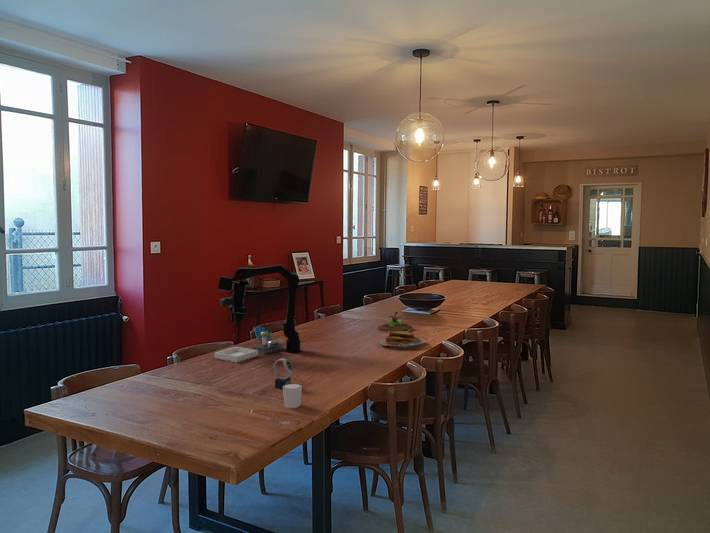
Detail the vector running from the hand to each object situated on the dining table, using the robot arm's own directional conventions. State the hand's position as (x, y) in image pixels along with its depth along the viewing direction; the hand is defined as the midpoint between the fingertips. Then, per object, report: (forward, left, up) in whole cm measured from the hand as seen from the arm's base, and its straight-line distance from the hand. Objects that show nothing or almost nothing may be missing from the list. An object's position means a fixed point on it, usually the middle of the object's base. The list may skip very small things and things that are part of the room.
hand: (234, 323), depth 268 cm
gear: (+7, -30, -15) cm, 35 cm away
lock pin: (-11, -10, -15) cm, 21 cm away
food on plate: (-63, -60, -15) cm, 88 cm away
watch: (-55, +30, -15) cm, 64 cm away
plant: (-41, -95, -16) cm, 105 cm away
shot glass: (-72, +46, -15) cm, 86 cm away
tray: (-7, +6, -15) cm, 17 cm away
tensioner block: (-11, -13, -15) cm, 23 cm away
